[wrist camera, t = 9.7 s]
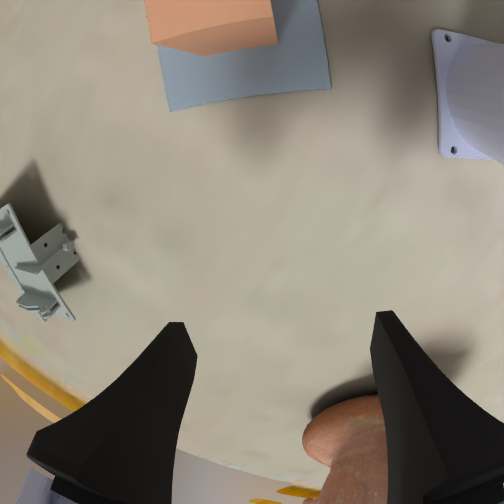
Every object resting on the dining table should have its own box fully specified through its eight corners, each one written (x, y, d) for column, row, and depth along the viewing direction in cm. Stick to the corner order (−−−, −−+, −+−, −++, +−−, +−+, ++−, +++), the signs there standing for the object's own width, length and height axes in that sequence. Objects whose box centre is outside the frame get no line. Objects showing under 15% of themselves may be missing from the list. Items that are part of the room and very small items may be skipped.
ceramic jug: (334, 445, 36) (337, 530, 24) (269, 417, 32) (261, 527, 20) (447, 395, 29) (472, 489, 17) (409, 349, 24) (446, 488, 12)
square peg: (266, -18, 11) (252, -75, 5) (277, 44, 13) (273, 16, 7) (193, -4, 12) (138, -45, 6) (203, 56, 14) (151, 43, 8)
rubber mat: (304, -49, 10) (304, -51, 9) (330, 88, 14) (331, 88, 14) (149, -19, 11) (147, -20, 11) (171, 111, 16) (170, 111, 15)
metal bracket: (-19, 189, 13) (80, 355, 21) (42, 153, 18) (120, 309, 25) (-39, 215, 20) (25, 325, 27) (-1, 189, 24) (55, 295, 31)
